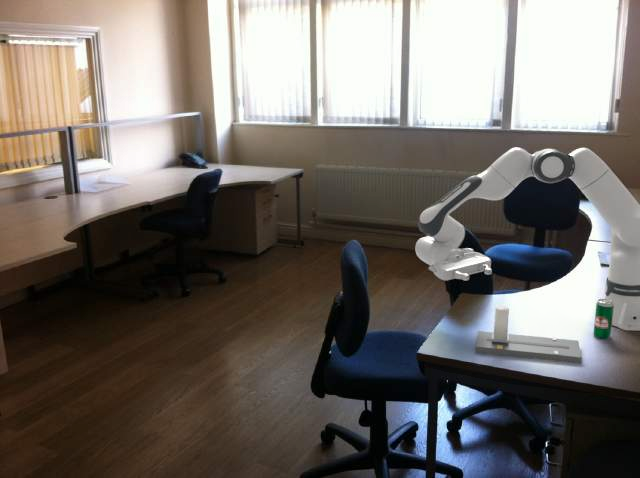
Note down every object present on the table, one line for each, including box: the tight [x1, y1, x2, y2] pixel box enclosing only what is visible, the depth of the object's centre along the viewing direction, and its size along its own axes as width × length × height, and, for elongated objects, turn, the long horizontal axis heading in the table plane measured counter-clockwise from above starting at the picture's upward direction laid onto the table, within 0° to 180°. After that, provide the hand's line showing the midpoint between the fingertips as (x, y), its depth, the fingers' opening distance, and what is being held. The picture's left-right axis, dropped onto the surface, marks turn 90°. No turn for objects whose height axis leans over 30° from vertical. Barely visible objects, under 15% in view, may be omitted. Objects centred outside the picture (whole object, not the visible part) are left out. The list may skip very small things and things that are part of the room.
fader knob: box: [492, 305, 510, 343], centre depth 195 cm, size 5×5×10 cm
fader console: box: [475, 330, 583, 365], centre depth 195 cm, size 30×12×2 cm, turn 73°
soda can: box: [593, 298, 614, 340], centre depth 202 cm, size 5×5×12 cm
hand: (478, 275), depth 202 cm, fingers open, 8 cm apart
